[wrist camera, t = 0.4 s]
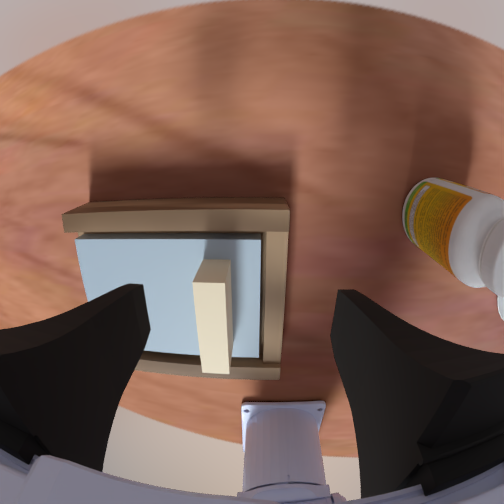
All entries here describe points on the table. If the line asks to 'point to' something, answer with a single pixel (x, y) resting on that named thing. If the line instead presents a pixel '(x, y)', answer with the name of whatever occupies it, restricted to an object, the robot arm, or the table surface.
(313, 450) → the robot arm
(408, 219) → the supplement bottle
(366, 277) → the table surface
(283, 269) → the box
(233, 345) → the lid
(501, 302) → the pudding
